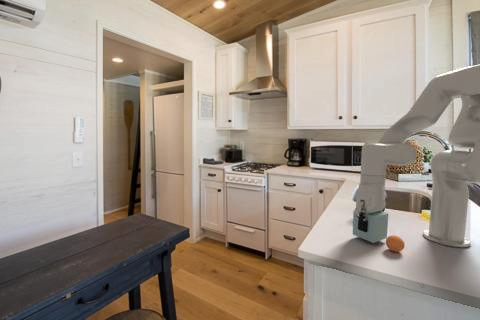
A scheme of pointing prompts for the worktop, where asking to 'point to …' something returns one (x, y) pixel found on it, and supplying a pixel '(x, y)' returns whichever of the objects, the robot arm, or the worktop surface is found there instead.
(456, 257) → the worktop surface
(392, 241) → the ball
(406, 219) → the worktop surface
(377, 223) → the mint green cube
